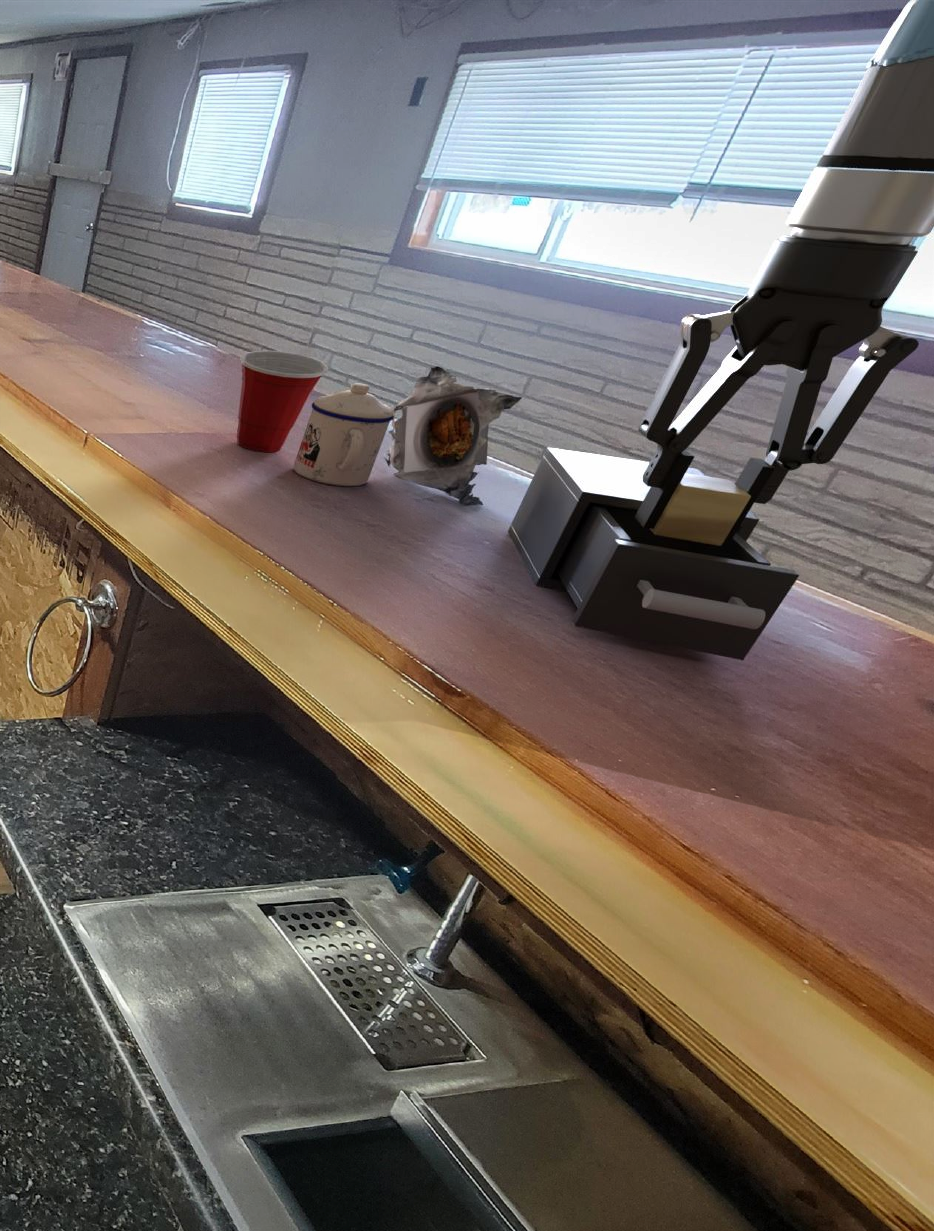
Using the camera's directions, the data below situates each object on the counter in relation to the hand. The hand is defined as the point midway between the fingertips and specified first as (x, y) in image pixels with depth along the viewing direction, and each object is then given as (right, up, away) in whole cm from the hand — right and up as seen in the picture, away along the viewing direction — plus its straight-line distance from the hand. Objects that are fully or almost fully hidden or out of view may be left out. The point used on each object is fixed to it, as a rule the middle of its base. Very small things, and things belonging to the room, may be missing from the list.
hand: (681, 528), depth 78 cm
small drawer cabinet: (+5, -2, +14) cm, 15 cm away
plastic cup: (-12, +17, +48) cm, 52 cm away
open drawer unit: (-1, -8, +3) cm, 8 cm away
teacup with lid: (-9, +11, +37) cm, 39 cm away
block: (0, 0, 0) cm, 0 cm away
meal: (+3, +10, +37) cm, 38 cm away
